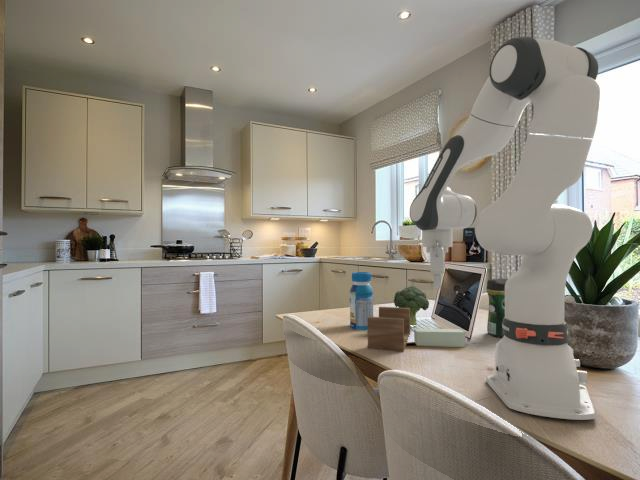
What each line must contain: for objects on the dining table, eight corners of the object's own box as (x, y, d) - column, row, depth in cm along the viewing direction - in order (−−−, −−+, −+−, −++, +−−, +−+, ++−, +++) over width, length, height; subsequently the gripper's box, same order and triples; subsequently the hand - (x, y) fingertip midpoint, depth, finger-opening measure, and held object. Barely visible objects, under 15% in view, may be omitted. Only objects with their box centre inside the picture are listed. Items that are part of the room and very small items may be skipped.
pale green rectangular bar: (461, 344, 114) (461, 329, 114) (465, 347, 110) (465, 332, 110) (414, 343, 115) (414, 328, 115) (416, 346, 111) (416, 331, 111)
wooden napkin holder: (403, 352, 105) (403, 319, 105) (367, 349, 108) (367, 317, 108) (410, 335, 124) (409, 308, 124) (379, 333, 127) (379, 306, 127)
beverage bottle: (366, 333, 127) (365, 273, 127) (345, 330, 132) (344, 272, 132) (378, 329, 134) (377, 272, 134) (357, 325, 139) (357, 271, 139)
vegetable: (415, 333, 126) (415, 288, 127) (385, 327, 136) (385, 285, 136) (435, 328, 134) (435, 286, 135) (405, 322, 144) (405, 283, 144)
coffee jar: (510, 332, 128) (510, 277, 128) (524, 337, 120) (524, 279, 120) (483, 332, 127) (482, 277, 128) (495, 338, 120) (494, 279, 120)
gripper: (448, 240, 103) (449, 291, 102) (447, 241, 122) (448, 284, 122) (424, 241, 105) (425, 291, 104) (427, 241, 124) (427, 283, 124)
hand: (437, 287), depth 113 cm, fingers open, 4 cm apart
